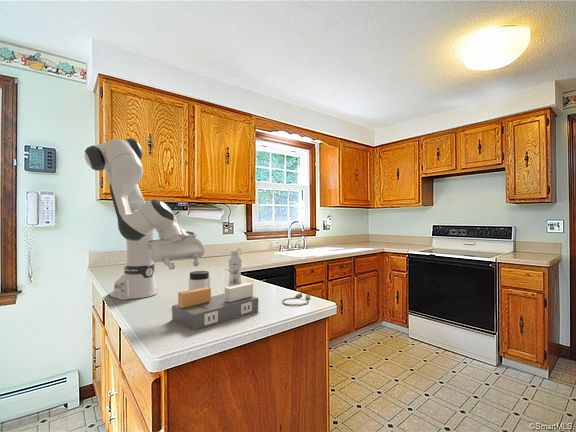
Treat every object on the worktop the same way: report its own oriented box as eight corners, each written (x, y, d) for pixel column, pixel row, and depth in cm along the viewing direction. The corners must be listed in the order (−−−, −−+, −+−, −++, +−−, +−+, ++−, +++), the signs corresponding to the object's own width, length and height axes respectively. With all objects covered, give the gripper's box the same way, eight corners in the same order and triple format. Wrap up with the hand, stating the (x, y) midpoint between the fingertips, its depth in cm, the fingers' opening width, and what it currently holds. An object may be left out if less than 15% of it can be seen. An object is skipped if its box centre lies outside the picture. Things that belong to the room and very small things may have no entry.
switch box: (163, 315, 108) (163, 301, 108) (225, 300, 128) (225, 288, 128) (195, 330, 93) (195, 314, 93) (259, 311, 113) (259, 297, 113)
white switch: (224, 300, 109) (224, 287, 109) (248, 294, 117) (248, 282, 117) (229, 301, 107) (229, 289, 107) (252, 296, 115) (252, 283, 115)
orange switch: (178, 306, 102) (178, 292, 102) (206, 299, 110) (206, 287, 110) (182, 308, 100) (182, 294, 100) (210, 301, 108) (210, 288, 108)
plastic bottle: (235, 289, 147) (235, 249, 147) (244, 292, 143) (244, 250, 143) (225, 292, 142) (225, 250, 142) (234, 294, 138) (234, 251, 138)
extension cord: (321, 301, 127) (321, 297, 127) (293, 309, 117) (293, 304, 117) (301, 296, 136) (301, 292, 136) (274, 302, 126) (274, 298, 126)
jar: (210, 296, 135) (210, 270, 135) (209, 301, 127) (209, 273, 127) (189, 297, 133) (189, 271, 133) (187, 302, 125) (187, 274, 125)
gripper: (147, 234, 106) (158, 264, 99) (199, 232, 121) (212, 258, 114) (142, 246, 109) (153, 276, 102) (194, 242, 124) (206, 268, 117)
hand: (185, 266), depth 108 cm, fingers open, 8 cm apart
